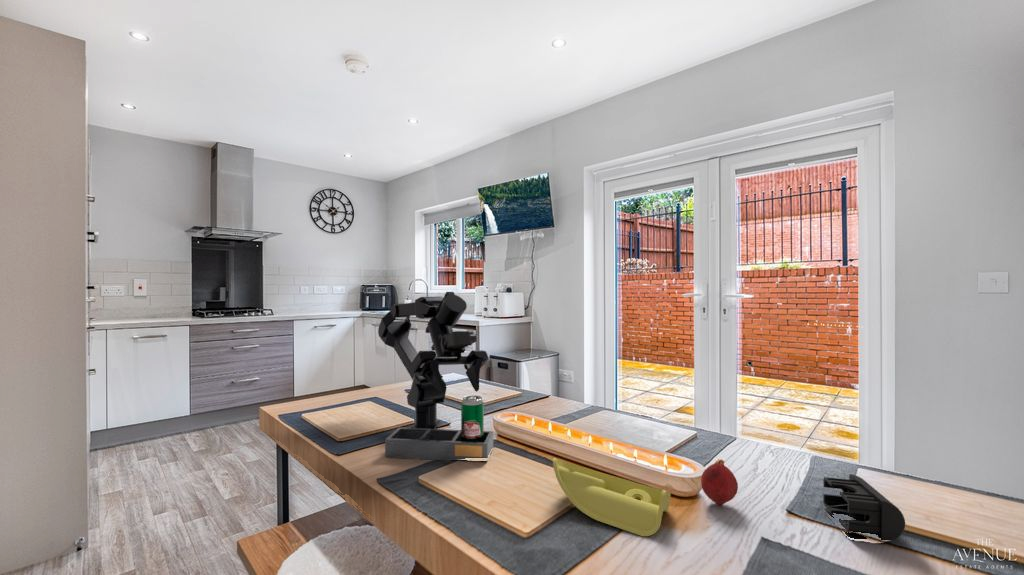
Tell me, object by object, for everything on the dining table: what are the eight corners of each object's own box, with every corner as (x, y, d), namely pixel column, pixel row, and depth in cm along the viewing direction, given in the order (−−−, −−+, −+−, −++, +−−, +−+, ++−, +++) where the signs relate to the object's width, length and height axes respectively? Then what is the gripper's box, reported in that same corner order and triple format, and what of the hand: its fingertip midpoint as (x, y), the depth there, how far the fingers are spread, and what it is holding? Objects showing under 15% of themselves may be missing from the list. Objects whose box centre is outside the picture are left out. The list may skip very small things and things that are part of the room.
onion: (721, 516, 75) (722, 468, 75) (693, 501, 80) (694, 456, 80) (744, 508, 77) (745, 462, 77) (715, 494, 83) (716, 451, 82)
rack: (398, 444, 108) (398, 427, 108) (493, 448, 105) (493, 431, 105) (384, 457, 99) (384, 439, 99) (487, 462, 97) (487, 444, 97)
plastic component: (672, 493, 78) (664, 489, 70) (665, 539, 76) (657, 541, 68) (567, 462, 88) (549, 456, 80) (558, 502, 85) (539, 500, 77)
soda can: (458, 454, 99) (459, 400, 99) (463, 445, 104) (463, 394, 104) (481, 455, 99) (481, 401, 98) (485, 446, 104) (485, 395, 103)
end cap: (905, 549, 66) (906, 503, 66) (850, 542, 68) (850, 498, 67) (869, 515, 75) (870, 475, 75) (821, 510, 77) (822, 471, 77)
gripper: (421, 316, 103) (439, 374, 94) (488, 319, 114) (510, 371, 105) (404, 344, 109) (419, 401, 100) (469, 344, 120) (487, 396, 112)
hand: (460, 391), depth 104 cm, fingers open, 9 cm apart
